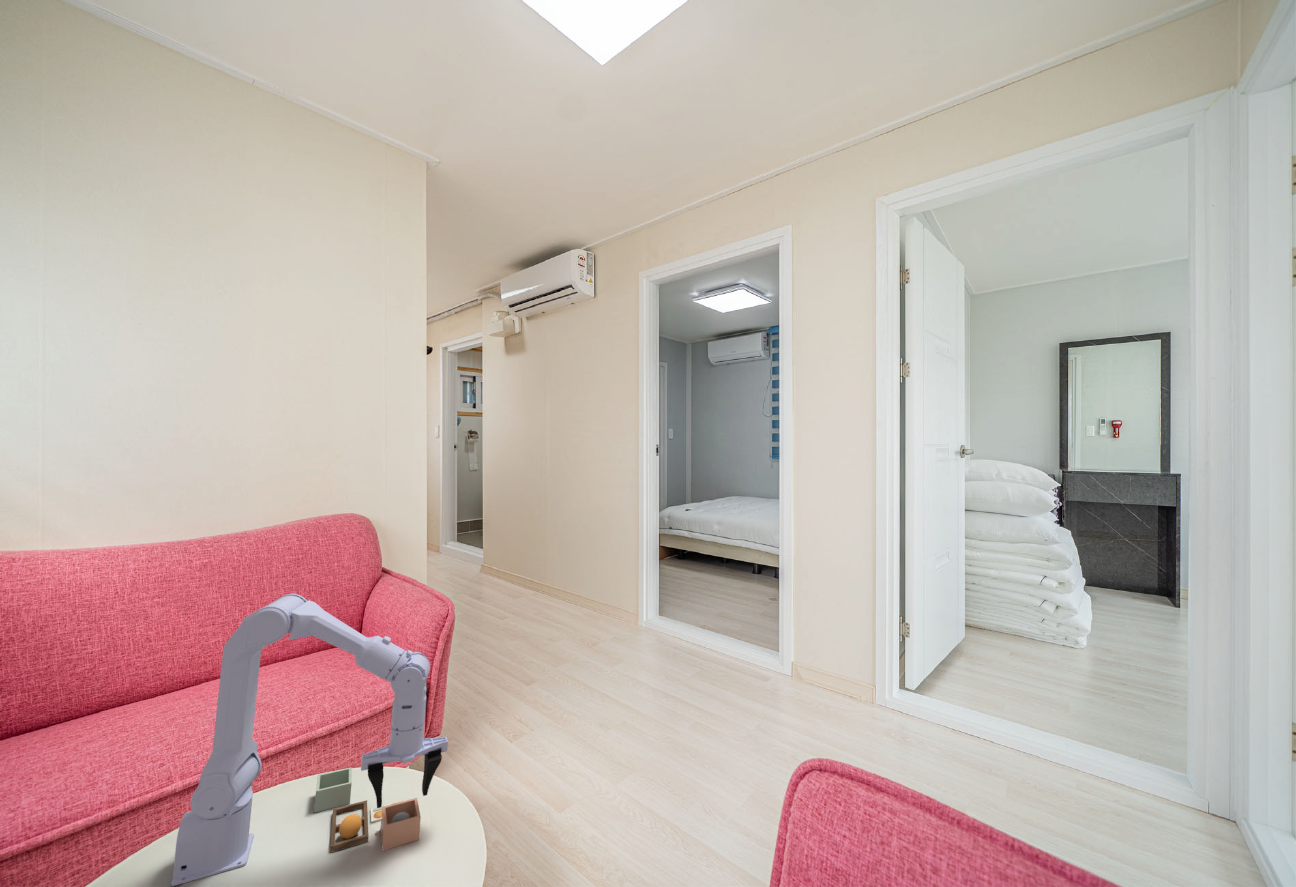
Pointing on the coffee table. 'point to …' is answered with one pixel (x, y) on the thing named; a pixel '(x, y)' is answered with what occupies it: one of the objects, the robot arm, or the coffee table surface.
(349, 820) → the orange ball
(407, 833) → the pink open box
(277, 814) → the coffee table surface
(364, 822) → the rack
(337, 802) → the sage open box
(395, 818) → the grey ball
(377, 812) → the card
